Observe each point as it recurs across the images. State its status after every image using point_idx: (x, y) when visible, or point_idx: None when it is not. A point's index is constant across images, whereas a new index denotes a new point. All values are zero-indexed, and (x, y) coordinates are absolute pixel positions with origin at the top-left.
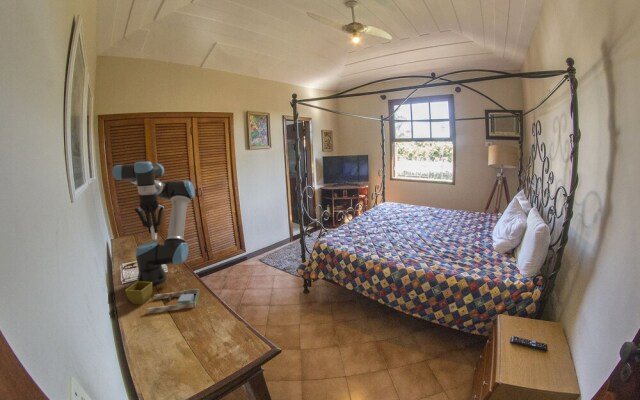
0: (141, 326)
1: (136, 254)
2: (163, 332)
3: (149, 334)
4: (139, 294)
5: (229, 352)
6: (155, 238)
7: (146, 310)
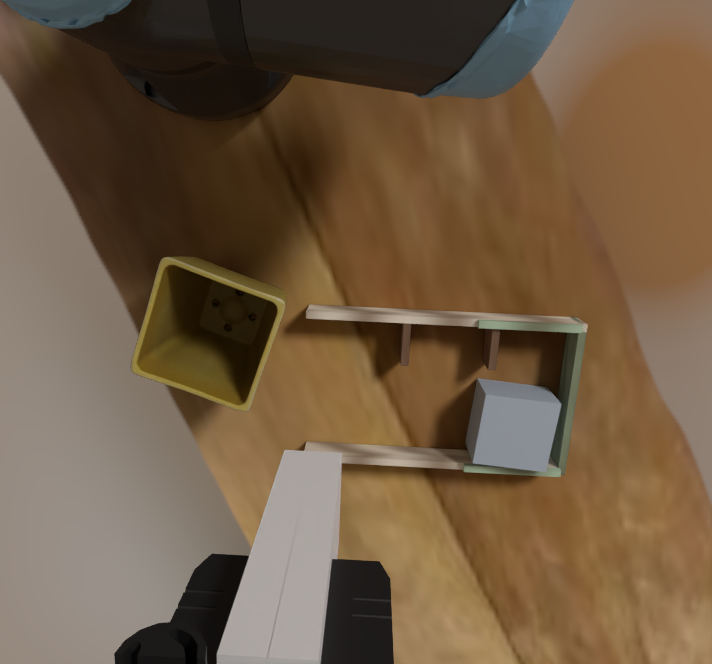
0: None
1: None
2: (428, 611)
3: None
4: (237, 394)
5: None
6: (337, 548)
7: None
